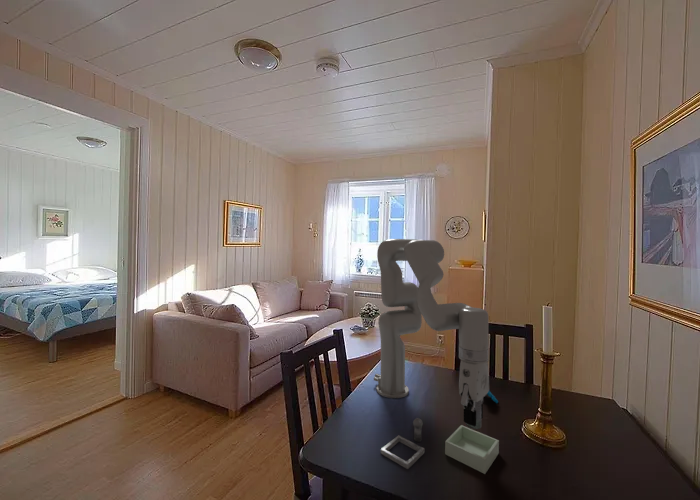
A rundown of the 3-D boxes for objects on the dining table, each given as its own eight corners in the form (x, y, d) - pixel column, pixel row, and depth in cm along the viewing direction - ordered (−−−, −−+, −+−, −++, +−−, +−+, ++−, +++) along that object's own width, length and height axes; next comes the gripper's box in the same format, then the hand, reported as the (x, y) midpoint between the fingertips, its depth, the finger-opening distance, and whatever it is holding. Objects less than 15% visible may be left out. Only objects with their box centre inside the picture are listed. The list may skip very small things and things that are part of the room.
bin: (445, 454, 84) (445, 441, 83) (461, 436, 91) (461, 424, 91) (485, 474, 76) (485, 459, 76) (498, 453, 84) (498, 440, 84)
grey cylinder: (478, 430, 81) (478, 397, 81) (463, 424, 83) (463, 392, 83) (483, 424, 83) (483, 392, 84) (469, 418, 86) (469, 387, 86)
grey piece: (380, 453, 84) (380, 431, 84) (407, 431, 94) (407, 411, 94) (407, 469, 78) (407, 445, 78) (433, 444, 88) (433, 422, 88)
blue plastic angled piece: (502, 404, 107) (480, 381, 110) (490, 415, 107) (468, 392, 110) (495, 394, 118) (475, 373, 120) (484, 404, 118) (464, 383, 121)
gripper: (475, 365, 75) (475, 440, 75) (497, 349, 87) (497, 413, 87) (446, 358, 80) (446, 427, 80) (471, 343, 92) (471, 404, 92)
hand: (473, 419), depth 83 cm, fingers closed on grey cylinder, 4 cm apart
